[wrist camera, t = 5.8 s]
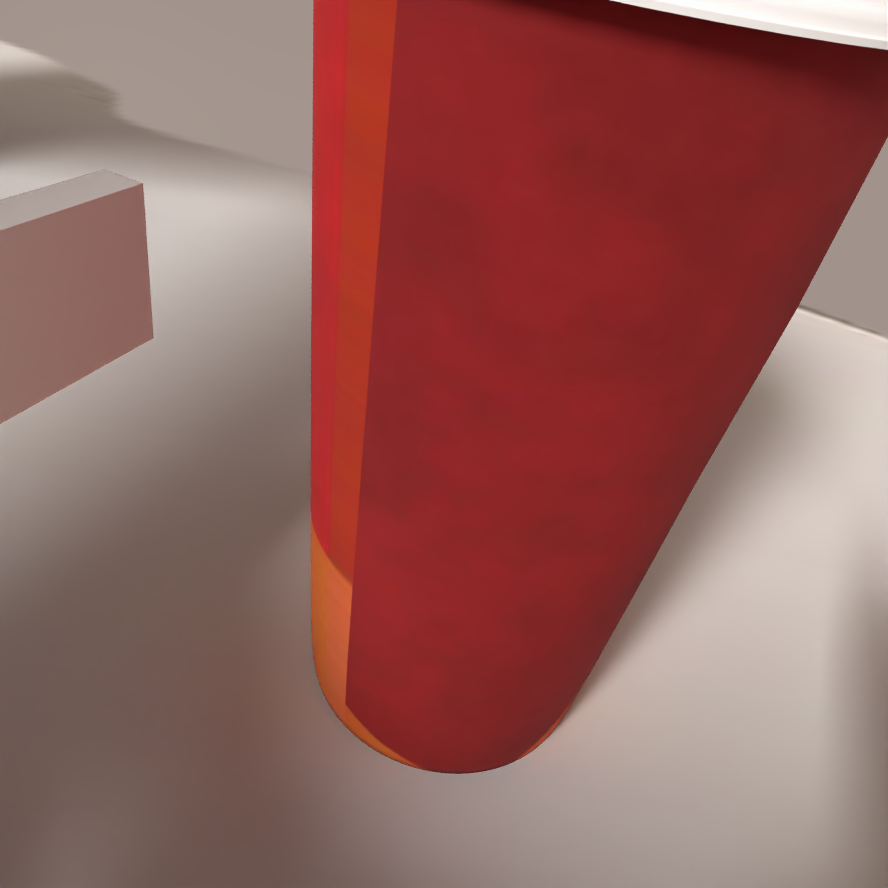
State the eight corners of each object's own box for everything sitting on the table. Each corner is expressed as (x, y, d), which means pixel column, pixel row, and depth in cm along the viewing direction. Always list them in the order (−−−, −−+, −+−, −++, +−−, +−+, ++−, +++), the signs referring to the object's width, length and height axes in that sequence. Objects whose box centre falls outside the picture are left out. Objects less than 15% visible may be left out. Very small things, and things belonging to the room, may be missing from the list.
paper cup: (686, 675, 17) (1108, -77, 9) (449, 934, 12) (908, -223, 4) (436, 486, 21) (570, -161, 13) (179, 624, 16) (126, -290, 8)
